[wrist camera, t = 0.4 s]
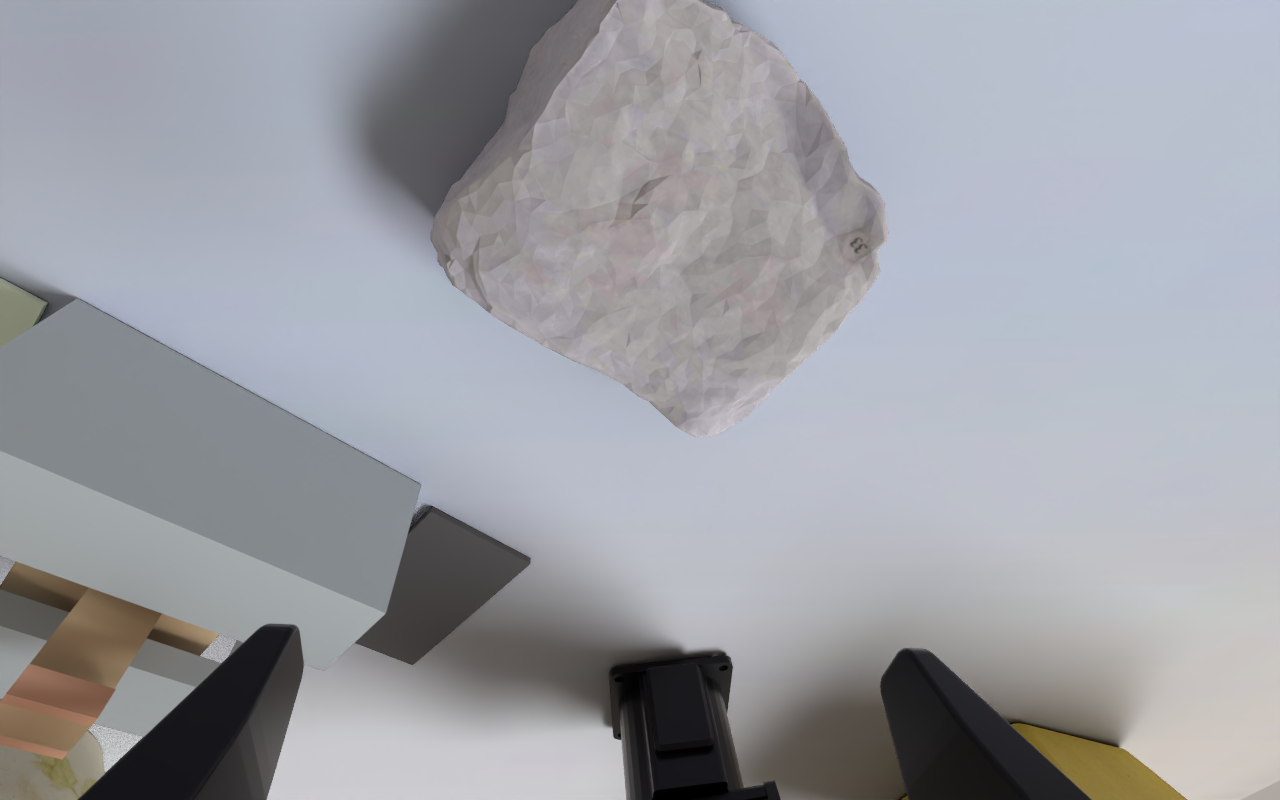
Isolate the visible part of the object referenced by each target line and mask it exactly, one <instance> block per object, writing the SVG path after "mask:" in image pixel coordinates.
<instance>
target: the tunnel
mask: <svg viewBox="0 0 1280 800" xmlns="http://www.w3.org/2000/svg"><path fill="white" fill-rule="evenodd" d="M420 488H421V485H420V484H419V483H417V482H415V481H413V480H411V479H409V478H408V477H406V476H404V475H402V474H400V473H398V472H396V471H395V470H393V469H391V468H389V467H387V466H385V465H384V464H382V463H380V462H378V461H376V460H374V459H373V458H371V457H369V456H367V455H365V454H363V453H361V452H360V451H358V450H356V449H354V448H352V447H350V446H349V445H347V444H345V443H343V442H341V441H339V440H338V439H336V438H334V437H332V436H330V435H328V434H326V433H325V432H323V431H321V430H319V429H317V428H315V427H314V426H312V425H310V424H308V423H306V422H304V421H303V420H301V419H299V418H297V417H295V416H293V415H291V414H290V413H288V412H286V411H284V410H282V409H280V408H279V407H277V406H275V405H273V404H271V403H269V402H268V401H266V400H264V399H262V398H260V397H258V396H257V395H255V394H253V393H251V392H249V391H247V390H245V389H244V388H242V387H240V386H238V385H236V384H234V383H233V382H231V381H229V380H227V379H225V378H223V377H222V376H220V375H218V374H216V373H214V372H212V371H210V370H209V369H207V368H205V367H203V366H201V365H199V364H198V363H196V362H194V361H192V360H190V359H188V358H187V357H185V356H183V355H181V354H179V353H177V352H175V351H174V350H172V349H170V348H168V347H166V346H164V345H163V344H161V343H159V342H157V341H155V340H153V339H152V338H150V337H148V336H146V335H144V334H142V333H140V332H139V331H137V330H135V329H133V328H131V327H129V326H128V325H126V324H124V323H122V322H120V321H118V320H117V319H115V318H113V317H111V316H109V315H107V314H105V313H104V312H102V311H100V310H98V309H96V308H94V307H93V306H91V305H89V304H87V303H85V302H83V301H82V300H80V299H78V298H77V299H75V300H73V301H72V302H70V303H69V304H67V305H66V306H64V307H63V308H61V309H60V310H58V311H56V312H55V313H53V314H52V315H50V316H49V317H47V318H46V319H44V320H43V321H41V322H39V323H38V324H36V325H35V326H33V327H32V328H30V329H29V330H27V331H26V332H24V333H22V334H21V335H19V336H18V337H16V338H15V339H13V340H12V341H10V342H9V343H7V344H6V345H4V346H2V347H1V348H0V556H2V557H5V558H8V559H11V560H13V561H16V562H19V563H22V564H25V565H27V566H30V567H33V568H36V569H39V570H41V571H44V572H47V573H50V574H53V575H55V576H58V577H61V578H64V579H67V580H69V581H72V582H75V583H78V584H81V585H84V586H86V587H89V588H92V589H95V590H98V591H100V592H103V593H106V594H109V595H112V596H114V597H117V598H120V599H123V600H126V601H128V602H131V603H134V604H137V605H140V606H142V607H145V608H148V609H151V610H154V611H157V612H159V613H162V614H165V615H168V616H171V617H173V618H176V619H179V620H182V621H185V622H187V623H190V624H193V625H196V626H199V627H201V628H204V629H207V630H210V631H213V632H215V633H218V634H221V635H224V636H227V637H230V638H232V639H235V640H237V641H236V643H235V645H234V647H233V649H232V651H231V653H230V655H231V654H232V653H233V652H234V651H235V650H236V649H237V648H238V647H239V646H240V645H241V644H243V643H244V642H245V641H246V640H247V639H248V638H249V637H250V636H251V635H252V634H253V633H254V632H255V631H256V630H257V629H259V628H260V627H261V626H263V625H265V624H270V623H272V624H294V625H296V626H297V627H298V628H299V631H300V637H301V645H302V653H303V660H304V664H305V665H308V666H311V667H314V668H317V669H319V670H322V671H325V670H326V669H327V668H328V667H329V666H330V665H331V664H332V663H333V662H334V661H335V660H337V659H338V658H339V657H340V656H341V655H342V654H343V653H344V652H345V651H346V650H347V649H348V648H349V647H350V646H352V645H353V644H354V643H355V642H356V641H357V640H358V639H359V638H360V637H361V636H362V635H363V634H364V633H365V632H366V631H368V630H369V629H370V628H371V627H372V626H373V625H374V624H375V623H376V622H377V621H378V620H379V619H380V618H381V617H383V616H384V615H385V614H386V611H387V608H388V604H389V600H390V597H391V593H392V589H393V586H394V582H395V579H396V575H397V571H398V568H399V564H400V560H401V557H402V553H403V550H404V546H405V542H406V539H407V535H408V531H409V528H410V524H411V521H412V517H413V513H414V510H415V506H416V502H417V499H418V495H419V492H420ZM69 613H70V612H67V611H64V610H61V609H58V608H55V607H52V606H49V605H46V604H43V603H40V602H37V601H34V600H31V599H28V598H25V597H22V596H19V595H16V594H13V593H10V592H7V591H4V590H1V589H0V699H2V698H3V697H4V696H5V694H6V693H7V692H8V690H9V689H10V688H11V687H12V685H13V684H14V683H15V681H16V680H17V679H18V678H19V676H20V675H21V674H22V672H23V671H24V670H25V669H26V667H27V666H28V665H29V664H30V663H31V661H32V660H33V659H34V658H35V656H36V655H37V654H38V652H39V651H40V650H41V649H42V647H43V646H44V645H45V644H46V642H47V641H48V640H49V638H50V637H51V636H52V635H53V633H54V632H55V631H56V629H57V628H58V627H59V626H60V624H61V623H62V622H63V620H64V619H65V618H66V617H67V615H68V614H69ZM230 655H229V656H230ZM220 664H221V663H219V662H216V661H213V660H210V659H207V658H204V657H201V656H198V655H195V654H192V653H189V652H186V651H183V650H180V649H177V648H174V647H171V646H168V645H165V644H162V643H159V642H156V641H153V640H150V639H147V638H146V640H145V642H144V643H143V645H142V646H141V648H140V649H139V651H138V653H137V654H136V656H135V657H134V659H133V660H132V662H131V664H130V665H129V667H128V668H127V670H126V672H125V673H124V675H123V676H122V678H121V679H120V681H119V683H118V684H117V686H116V687H115V689H116V690H115V692H114V693H113V695H112V697H111V698H110V700H109V701H108V703H107V704H106V706H105V708H104V709H103V711H102V712H101V714H100V716H99V717H98V719H97V720H96V721H95V722H94V724H97V725H101V726H105V727H108V728H112V729H116V730H120V731H123V732H127V733H131V734H135V735H138V736H142V737H144V736H145V735H146V734H147V733H148V732H149V731H150V730H152V729H153V728H154V727H155V726H156V725H157V724H158V723H159V722H160V721H161V720H162V719H163V718H164V717H165V716H166V715H167V714H168V713H170V712H171V711H172V710H173V709H174V708H175V707H176V706H177V705H178V704H179V703H180V702H181V701H182V700H183V699H184V698H185V697H186V696H188V695H189V694H190V693H191V692H192V691H193V690H194V689H195V688H196V687H197V686H198V685H199V684H200V683H201V682H202V681H203V680H204V679H205V678H207V677H208V676H209V675H210V674H211V673H212V672H213V671H214V670H215V669H216V668H217V667H218V666H219V665H220Z"/></svg>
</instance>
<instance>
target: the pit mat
mask: <svg viewBox="0 0 1280 800" xmlns="http://www.w3.org/2000/svg"><path fill="white" fill-rule="evenodd" d="M529 564H530V558H528V557H527V556H525V555H523V554H521V553H519V552H517V551H515V550H513V549H511V548H510V547H508V546H506V545H504V544H502V543H500V542H498V541H496V540H494V539H493V538H491V537H489V536H487V535H485V534H483V533H481V532H479V531H477V530H476V529H474V528H472V527H470V526H468V525H466V524H464V523H462V522H460V521H459V520H457V519H455V518H453V517H451V516H449V515H447V514H445V513H443V512H442V511H440V510H438V509H436V508H434V507H432V508H431V509H430V510H429V511H428V512H427V513H426V514H425V515H424V516H423V517H421V518H420V519H419V520H418V521H417V522H416V523H415V524H414V525H413V526H412V527H411V528H410V529H409V531H408V535H407V539H406V542H405V546H404V550H403V553H402V557H401V560H400V564H399V568H398V571H397V575H396V579H395V582H394V586H393V589H392V593H391V597H390V600H389V604H388V608H387V611H386V614H385V615H384V616H383V617H381V618H380V619H379V620H378V621H377V622H376V623H375V624H374V625H373V626H372V627H371V628H370V629H369V630H368V631H366V632H365V633H364V634H363V635H362V636H361V637H360V638H359V639H358V640H357V641H356V642H355V643H357V644H359V645H362V646H365V647H367V648H370V649H372V650H375V651H377V652H380V653H383V654H385V655H388V656H390V657H393V658H396V659H398V660H401V661H403V662H406V663H408V664H411V665H413V664H415V663H416V662H417V661H418V660H419V659H420V658H422V657H423V656H424V655H425V654H426V653H427V652H428V651H430V650H431V649H432V648H433V647H434V646H435V645H437V644H438V643H439V642H440V641H441V640H442V639H444V638H445V637H446V636H447V635H448V634H449V633H451V632H452V631H453V630H454V629H455V628H456V627H458V626H459V625H460V624H461V623H462V622H463V621H464V620H466V619H467V618H468V617H469V616H470V615H471V614H473V613H474V612H475V611H476V610H477V609H478V608H480V607H481V606H482V605H483V604H484V603H485V602H487V601H488V600H489V599H490V598H491V597H492V596H493V595H495V594H496V593H497V592H498V591H499V590H500V589H502V588H503V587H504V586H505V585H506V584H507V583H509V582H510V581H511V580H512V579H513V578H514V577H516V576H517V575H518V574H519V573H520V572H521V571H522V570H524V569H525V568H526V567H527V566H528V565H529Z"/></svg>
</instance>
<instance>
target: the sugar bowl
mask: <svg viewBox="0 0 1280 800" xmlns="http://www.w3.org/2000/svg"><path fill="white" fill-rule="evenodd" d="M1 700H2V699H0V701H1ZM104 774H105V771H104V762H103V753H102V749H101V747H100V745H99V743H98V741H97V740H96V738H95V737H94V736H93V735H92V734H91V733H90V732H89V731H86V733H85V734H84V735H83V736H82V737H81V738H80V740H79V741H78V742H77V743H76V744H75V745H74V747H73V748H72V749H71V750H70V751H69V752H68V753H67V755H66V756H65V757H64V758H63V759H58V758H53V757H49V756H45V755H41V754H37V753H32V752H28V751H24V750H20V749H16V748H11V747H7V746H3V745H0V800H77V799H78V798H80V797H81V796H82V795H83V794H84V793H85V792H86V791H87V790H88V789H89V788H90V787H91V786H92V785H93V784H94V783H95V782H96V781H98V780H99V779H100V778H101V777H102V776H103V775H104Z"/></svg>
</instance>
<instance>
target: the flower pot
mask: <svg viewBox="0 0 1280 800" xmlns="http://www.w3.org/2000/svg"><path fill="white" fill-rule="evenodd" d="M1011 726H1012V727H1013V728H1015V729H1016V730H1017V731H1018V732H1019V733H1020V734H1021V735H1022V736H1023V737H1024V738H1025V739H1027V740H1028V741H1029V742H1030V743H1031V744H1032V745H1033V746H1034V747H1035V748H1036V749H1037V750H1039V751H1040V752H1041V753H1042V754H1043V755H1044V756H1045V757H1046V758H1047V759H1048V760H1049V761H1051V762H1052V763H1053V764H1054V765H1055V766H1056V767H1057V768H1058V769H1059V770H1060V771H1061V772H1063V773H1064V774H1065V775H1066V776H1067V777H1068V778H1069V779H1070V780H1071V781H1072V782H1073V783H1075V784H1076V785H1077V786H1078V787H1079V788H1080V789H1081V790H1082V791H1083V792H1084V793H1085V794H1087V795H1088V796H1089V797H1090V798H1091V799H1092V800H1187V799H1186V798H1184V797H1183V796H1182V795H1181V794H1180V793H1178V792H1177V791H1176V790H1175V789H1174V788H1172V787H1171V786H1170V785H1169V784H1167V783H1166V782H1165V781H1164V780H1163V779H1161V778H1160V777H1159V776H1158V775H1157V774H1155V773H1154V772H1153V771H1152V770H1150V769H1149V768H1148V767H1147V766H1145V765H1144V764H1143V763H1141V762H1140V761H1139V760H1138V759H1136V758H1135V757H1134V756H1133V755H1131V754H1130V753H1129V752H1128V751H1126V750H1124V749H1121V748H1117V747H1113V746H1109V745H1105V744H1101V743H1098V742H1094V741H1090V740H1086V739H1082V738H1078V737H1074V736H1070V735H1066V734H1062V733H1058V732H1054V731H1050V730H1046V729H1042V728H1038V727H1034V726H1030V725H1027V724H1021V723H1017V724H1011ZM901 800H909V799H908V796H906V797H904V798H903V799H901Z"/></svg>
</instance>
